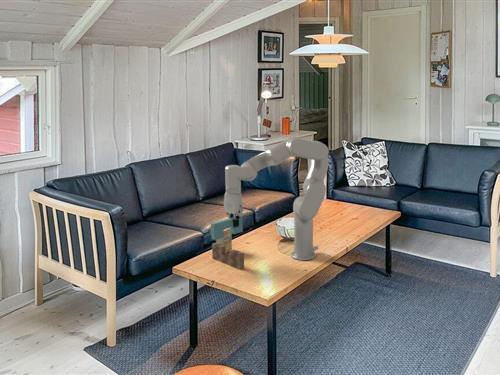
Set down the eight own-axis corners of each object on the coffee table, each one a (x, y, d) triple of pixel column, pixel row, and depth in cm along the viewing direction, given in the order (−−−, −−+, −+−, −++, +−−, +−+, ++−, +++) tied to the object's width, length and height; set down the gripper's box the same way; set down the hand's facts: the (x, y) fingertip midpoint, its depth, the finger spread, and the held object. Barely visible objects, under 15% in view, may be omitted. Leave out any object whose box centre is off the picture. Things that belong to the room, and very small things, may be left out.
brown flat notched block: (212, 258, 260) (211, 243, 258) (216, 257, 261) (215, 242, 260) (240, 269, 244) (239, 254, 242) (244, 268, 245) (243, 252, 244)
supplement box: (223, 255, 264) (223, 231, 261) (216, 254, 266) (215, 230, 263) (232, 250, 271) (231, 227, 268) (225, 249, 273) (224, 226, 270)
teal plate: (214, 240, 243) (213, 224, 241) (211, 238, 245) (210, 223, 243) (242, 231, 255) (242, 216, 253) (239, 230, 256) (239, 215, 255)
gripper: (217, 189, 251) (218, 224, 255) (238, 194, 239) (238, 231, 243) (228, 186, 256) (229, 221, 260) (249, 191, 244) (250, 228, 248)
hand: (234, 225), depth 252 cm, fingers closed on teal plate, 2 cm apart
